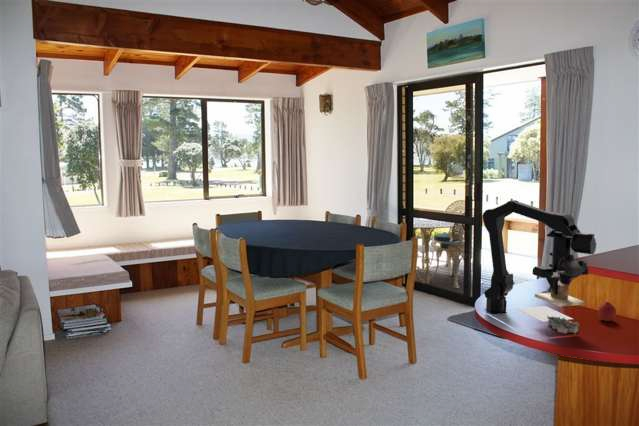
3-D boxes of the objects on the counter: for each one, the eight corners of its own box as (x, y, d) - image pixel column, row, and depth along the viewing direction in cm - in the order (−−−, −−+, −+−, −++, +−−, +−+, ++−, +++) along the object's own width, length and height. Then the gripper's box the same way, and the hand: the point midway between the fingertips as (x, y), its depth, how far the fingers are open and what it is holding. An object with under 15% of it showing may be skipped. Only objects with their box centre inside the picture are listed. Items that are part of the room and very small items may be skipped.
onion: (614, 320, 200) (615, 299, 199) (616, 325, 195) (618, 303, 194) (596, 318, 202) (597, 297, 201) (598, 323, 197) (600, 301, 196)
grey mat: (542, 323, 197) (542, 321, 197) (516, 309, 212) (516, 308, 212) (573, 320, 200) (573, 319, 200) (545, 307, 215) (545, 306, 215)
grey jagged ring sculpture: (580, 336, 185) (581, 324, 185) (558, 336, 185) (559, 324, 184) (565, 325, 196) (566, 314, 195) (544, 325, 196) (545, 314, 195)
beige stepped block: (559, 306, 184) (560, 289, 184) (534, 296, 197) (535, 280, 196) (584, 304, 187) (585, 287, 186) (558, 294, 199) (559, 278, 199)
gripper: (554, 256, 180) (552, 303, 181) (601, 253, 185) (598, 298, 186) (532, 250, 190) (530, 294, 192) (577, 247, 195) (575, 290, 197)
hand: (559, 294), depth 192 cm, fingers closed on beige stepped block, 3 cm apart
